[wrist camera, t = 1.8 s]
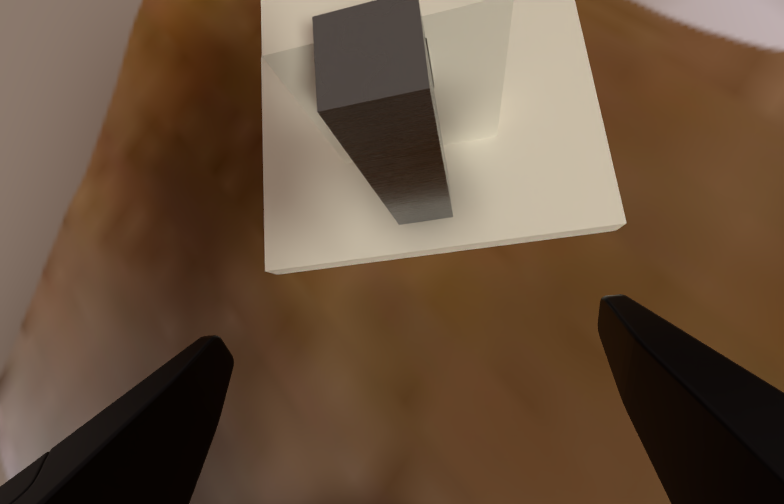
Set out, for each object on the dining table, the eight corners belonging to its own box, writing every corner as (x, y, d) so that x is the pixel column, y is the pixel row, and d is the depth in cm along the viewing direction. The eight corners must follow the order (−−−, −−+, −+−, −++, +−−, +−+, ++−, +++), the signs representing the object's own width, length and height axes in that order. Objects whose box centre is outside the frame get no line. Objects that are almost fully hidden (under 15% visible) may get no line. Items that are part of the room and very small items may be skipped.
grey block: (453, 216, 20) (429, 88, 9) (399, 224, 21) (317, 111, 10) (429, 36, 23) (389, -234, 12) (381, 47, 24) (300, -200, 12)
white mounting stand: (615, 230, 21) (765, 128, 10) (277, 274, 24) (126, 233, 14) (564, 1, 24) (636, -261, 13) (272, 70, 27) (146, -91, 17)
